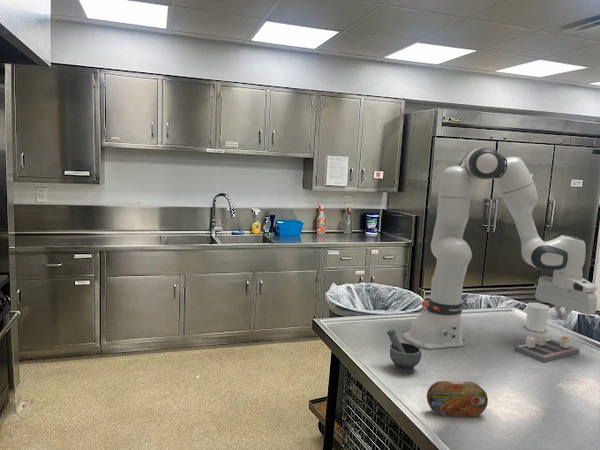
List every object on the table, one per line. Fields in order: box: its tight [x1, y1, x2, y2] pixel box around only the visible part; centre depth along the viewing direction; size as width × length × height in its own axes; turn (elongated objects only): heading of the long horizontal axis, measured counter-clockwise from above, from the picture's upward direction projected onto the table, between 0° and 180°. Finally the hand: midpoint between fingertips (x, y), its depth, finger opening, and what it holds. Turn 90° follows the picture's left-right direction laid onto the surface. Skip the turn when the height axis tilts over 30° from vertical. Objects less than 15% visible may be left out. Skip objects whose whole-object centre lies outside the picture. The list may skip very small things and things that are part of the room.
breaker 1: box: [524, 336, 537, 348], centre depth 159 cm, size 2×2×3 cm
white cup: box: [525, 302, 550, 333], centre depth 183 cm, size 8×8×10 cm
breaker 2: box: [535, 334, 547, 346], centre depth 162 cm, size 2×2×3 cm
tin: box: [426, 380, 489, 418], centre depth 115 cm, size 15×3×8 cm, turn 90°
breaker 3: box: [559, 336, 571, 348], centre depth 160 cm, size 2×2×4 cm
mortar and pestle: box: [386, 328, 422, 375], centre depth 140 cm, size 11×9×12 cm
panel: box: [514, 338, 580, 363], centre depth 160 cm, size 20×11×2 cm, turn 119°
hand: (561, 319), depth 161 cm, fingers closed
